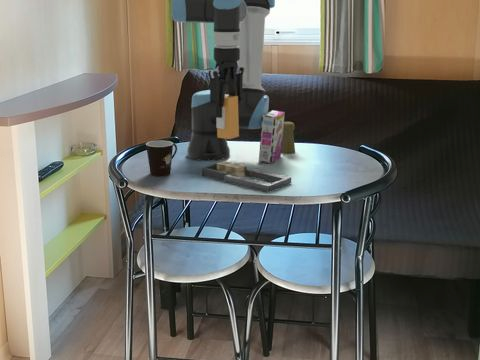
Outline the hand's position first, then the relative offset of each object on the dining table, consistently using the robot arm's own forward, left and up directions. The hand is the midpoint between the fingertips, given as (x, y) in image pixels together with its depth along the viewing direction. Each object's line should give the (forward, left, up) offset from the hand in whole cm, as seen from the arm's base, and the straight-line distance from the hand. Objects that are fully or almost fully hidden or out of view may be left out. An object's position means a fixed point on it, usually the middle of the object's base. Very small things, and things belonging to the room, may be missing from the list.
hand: (226, 126), depth 199 cm
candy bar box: (-9, +35, -19) cm, 41 cm away
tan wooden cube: (-5, +10, -19) cm, 22 cm away
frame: (-9, +10, -19) cm, 23 cm away
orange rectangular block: (+1, 0, -3) cm, 3 cm away
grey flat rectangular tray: (+4, +10, -19) cm, 22 cm away
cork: (-11, +48, -19) cm, 53 cm away
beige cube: (-9, +10, -19) cm, 23 cm away
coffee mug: (-25, -1, -19) cm, 31 cm away
